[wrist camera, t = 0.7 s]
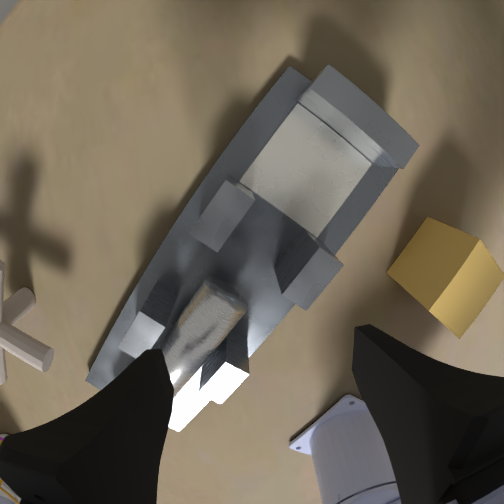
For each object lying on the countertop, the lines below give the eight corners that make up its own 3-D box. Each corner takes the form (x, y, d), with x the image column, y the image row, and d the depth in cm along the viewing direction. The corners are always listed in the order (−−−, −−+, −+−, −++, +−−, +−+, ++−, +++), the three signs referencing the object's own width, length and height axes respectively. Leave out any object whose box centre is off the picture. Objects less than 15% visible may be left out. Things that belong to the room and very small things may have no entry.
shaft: (255, 297, 19) (259, 331, 16) (156, 417, 22) (147, 453, 19) (199, 261, 19) (190, 289, 15) (113, 393, 22) (98, 428, 18)
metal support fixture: (396, 160, 19) (437, 164, 14) (180, 423, 24) (173, 465, 20) (287, 70, 17) (302, 45, 12) (89, 373, 23) (68, 410, 18)
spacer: (455, 248, 21) (505, 275, 15) (417, 299, 22) (459, 339, 16) (426, 216, 20) (479, 239, 14) (385, 272, 21) (428, 310, 15)
